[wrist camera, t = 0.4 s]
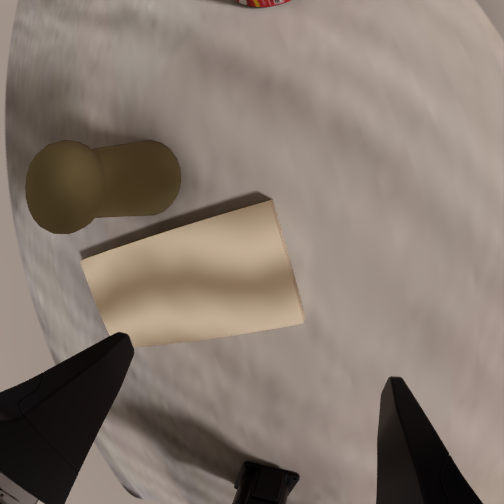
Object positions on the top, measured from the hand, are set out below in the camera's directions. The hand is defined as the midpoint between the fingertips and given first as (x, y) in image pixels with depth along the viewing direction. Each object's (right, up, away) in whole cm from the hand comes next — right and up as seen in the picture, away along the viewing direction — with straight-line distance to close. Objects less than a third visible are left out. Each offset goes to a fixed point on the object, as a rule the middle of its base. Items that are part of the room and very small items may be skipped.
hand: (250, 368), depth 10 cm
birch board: (-6, +1, +15) cm, 16 cm away
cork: (-8, +10, +14) cm, 19 cm away
